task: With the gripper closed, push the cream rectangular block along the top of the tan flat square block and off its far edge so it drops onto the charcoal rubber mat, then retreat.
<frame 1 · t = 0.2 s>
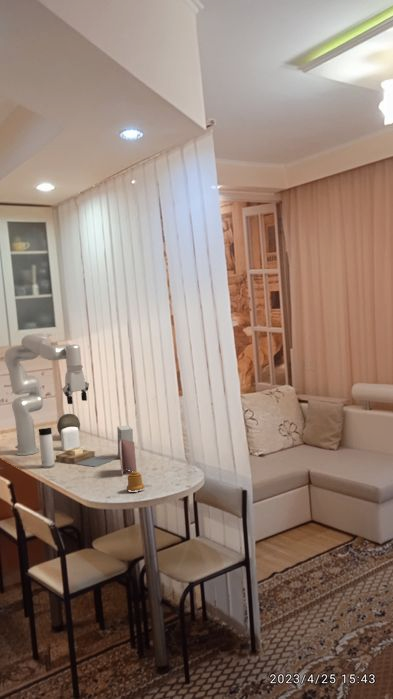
hand: (77, 402, 298), 31 cm above the table, fingers open, 9 cm apart
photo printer: (71, 449, 329), on the table
cream rectangular block: (73, 453, 305), point 3 cm above the table, touching tan flat square block
travel mug: (48, 466, 294), on the table
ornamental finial: (135, 490, 246), on the table
tan flat square block: (75, 459, 305), on the table
mat: (95, 461, 296), on the table
cantaloupe: (69, 438, 356), on the table
greeting card: (129, 472, 273), on the table
skincare box: (126, 457, 301), on the table
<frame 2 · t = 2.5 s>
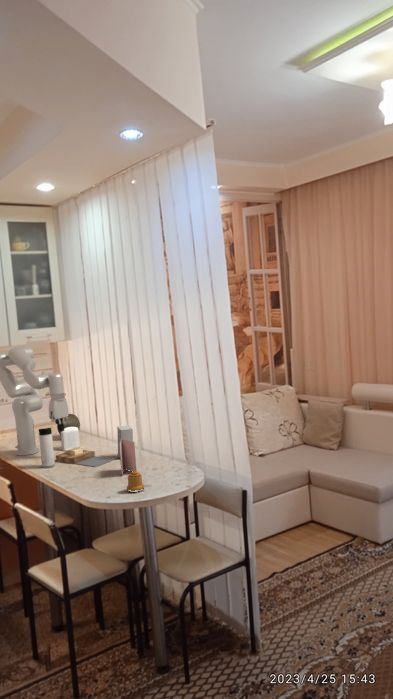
hand: (61, 431, 309), 14 cm above the table, fingers closed
nothing on the table moved.
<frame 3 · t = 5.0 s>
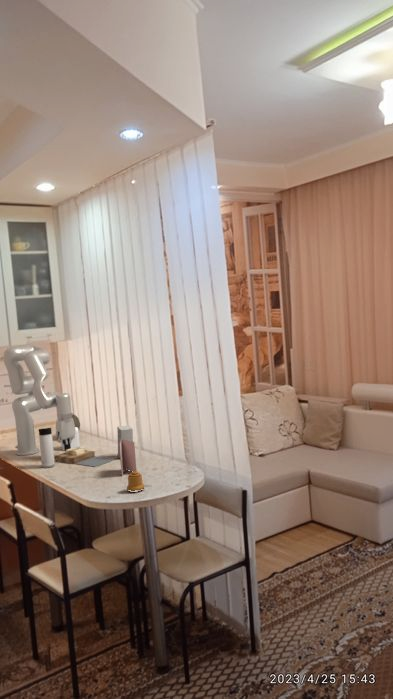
hand: (67, 451, 308), 4 cm above the table, fingers closed
cream rectangular block: (75, 453, 305), point 3 cm above the table, touching tan flat square block
everything else where it was.
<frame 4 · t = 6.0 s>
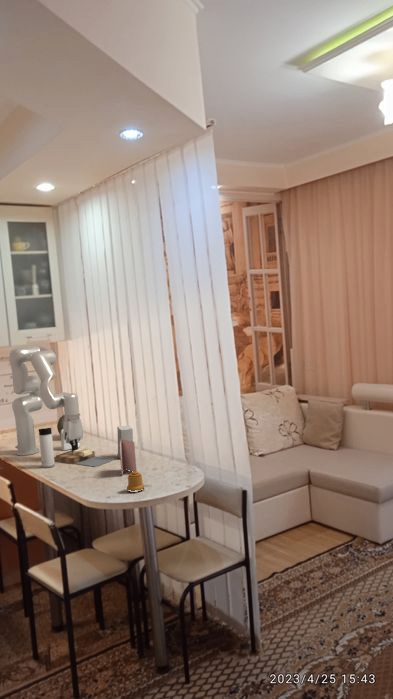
hand: (75, 452, 304), 4 cm above the table, fingers closed
cream rectangular block: (82, 454, 301), point 3 cm above the table, touching gripper
everything else where it was.
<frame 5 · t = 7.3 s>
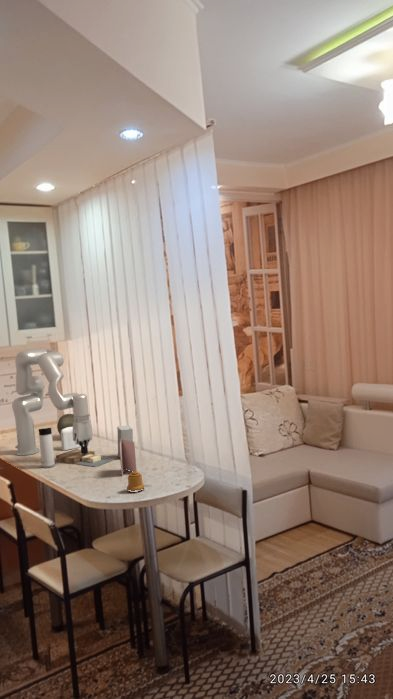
hand: (84, 453, 300), 4 cm above the table, fingers closed
cream rectangular block: (91, 460, 298), resting on mat
everything else where it was.
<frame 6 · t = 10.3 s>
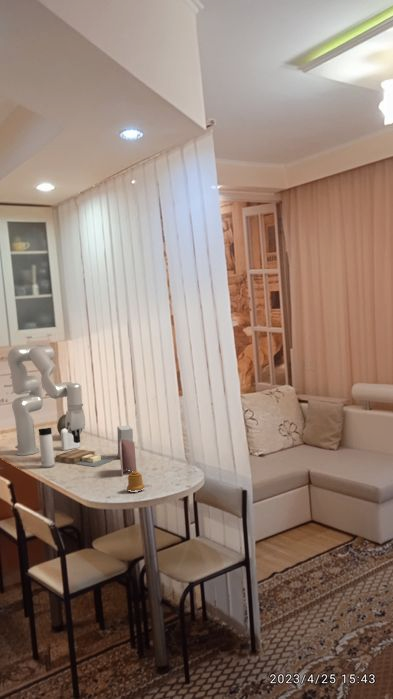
hand: (76, 442, 303), 9 cm above the table, fingers closed
nothing on the table moved.
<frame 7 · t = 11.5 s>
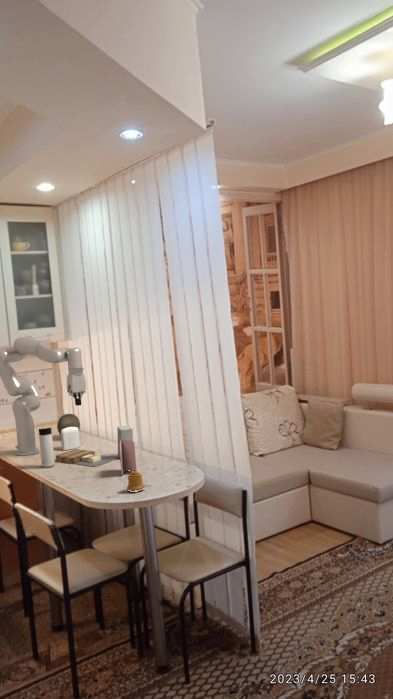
hand: (78, 405, 312), 27 cm above the table, fingers closed
nothing on the table moved.
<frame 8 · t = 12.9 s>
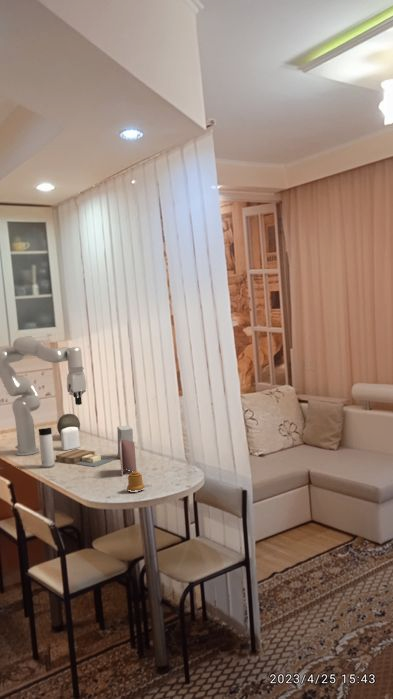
hand: (78, 404, 312), 27 cm above the table, fingers closed
nothing on the table moved.
at the end: cream rectangular block resting on mat; cream rectangular block inside the target area on the mat (2.8 cm from its centre), point 0.4 cm above the mat's base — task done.
